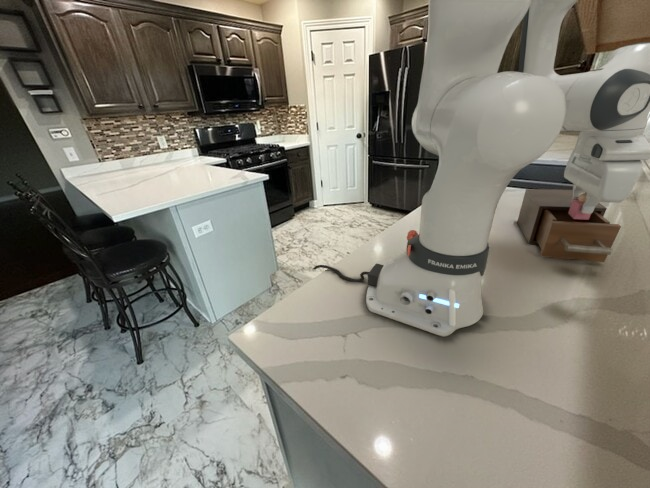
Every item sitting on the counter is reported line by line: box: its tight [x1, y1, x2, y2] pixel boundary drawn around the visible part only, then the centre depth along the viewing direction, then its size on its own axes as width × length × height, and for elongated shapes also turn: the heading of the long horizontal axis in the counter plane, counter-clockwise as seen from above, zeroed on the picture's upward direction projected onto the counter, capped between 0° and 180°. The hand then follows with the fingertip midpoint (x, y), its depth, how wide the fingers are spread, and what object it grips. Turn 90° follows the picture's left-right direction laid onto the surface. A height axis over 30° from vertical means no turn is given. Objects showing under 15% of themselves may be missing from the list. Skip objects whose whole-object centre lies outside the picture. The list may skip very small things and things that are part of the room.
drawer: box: [534, 209, 622, 263], centre depth 62 cm, size 18×11×9 cm, turn 157°
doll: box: [568, 192, 591, 220], centre depth 58 cm, size 3×4×6 cm
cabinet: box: [516, 188, 607, 245], centre depth 71 cm, size 15×13×11 cm
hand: (580, 208), depth 58 cm, fingers closed on doll, 3 cm apart
